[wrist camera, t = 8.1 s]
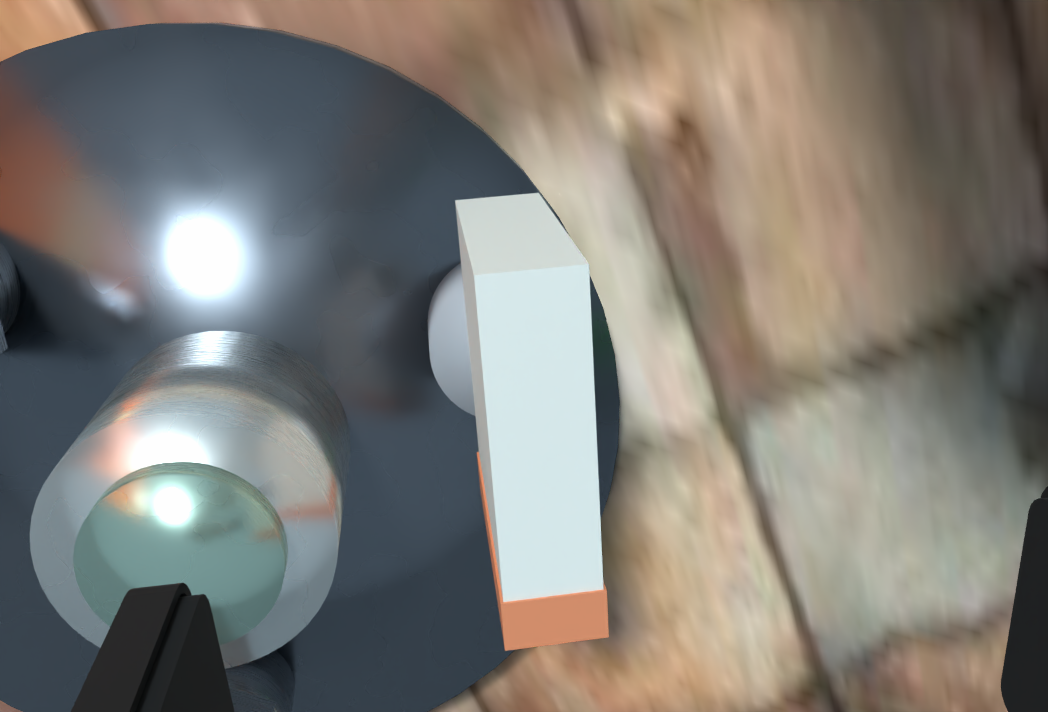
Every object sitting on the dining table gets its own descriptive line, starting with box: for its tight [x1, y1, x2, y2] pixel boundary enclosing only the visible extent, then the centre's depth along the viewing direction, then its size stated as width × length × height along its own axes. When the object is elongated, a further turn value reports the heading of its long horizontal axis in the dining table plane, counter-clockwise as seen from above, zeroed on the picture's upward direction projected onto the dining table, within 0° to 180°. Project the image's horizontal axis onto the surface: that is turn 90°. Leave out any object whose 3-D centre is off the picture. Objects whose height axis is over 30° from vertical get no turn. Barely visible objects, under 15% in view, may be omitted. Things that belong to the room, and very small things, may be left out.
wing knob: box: [428, 193, 609, 651], centre depth 20 cm, size 7×4×8 cm, turn 4°
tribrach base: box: [0, 23, 620, 712], centre depth 22 cm, size 20×20×8 cm
